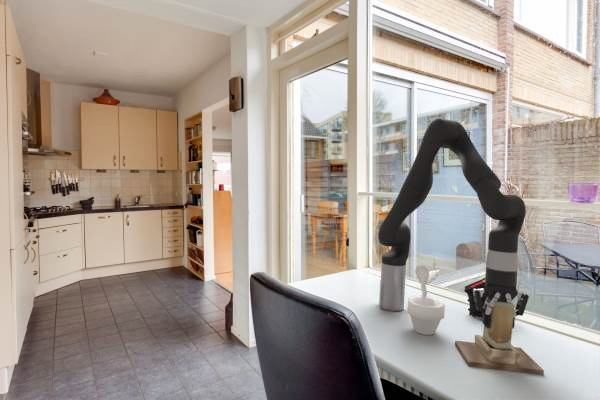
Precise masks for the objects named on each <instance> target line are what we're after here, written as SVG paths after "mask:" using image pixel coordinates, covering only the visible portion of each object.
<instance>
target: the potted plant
mask: <svg viewBox="0 0 600 400" xmlns="http://www.w3.org/2000/svg"><path fill="white" fill-rule="evenodd" d="M436 265H437V263H436V259H434V261H433V264H432V266H433V270H431V271H429V269H428V268H427V267H426V266H425V265H422V264H419V265H417V266H416V267H415V275H416V277H417V279H418V282H419V284H420V289H421V293H422V295H420V296H419V295H418V296H412V297H408V298H407V308H406V309H407V311H406V312H407V314H408V315H409V316H410V319H411V323H412V327H413V330H414V331H415V332H416V333H418V334H420V335H425V336H431V335H434V334H436V332H437V329H438V327H439V325H440V323H441V321H442V320H443V319H445V313H446V309H445V308H446V304H445V302H442V301H441V300H439V299H435V298H434V297H433V296H432V297H431V296H429V295H428V290H427V286H426V285H428V284H431V283H432V282H433V281H435V280H436V279H437V278H438V276H439V275H438V274H439V273H440V272H441V269H438V270H435V269H436V268H435V267H436Z"/></svg>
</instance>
